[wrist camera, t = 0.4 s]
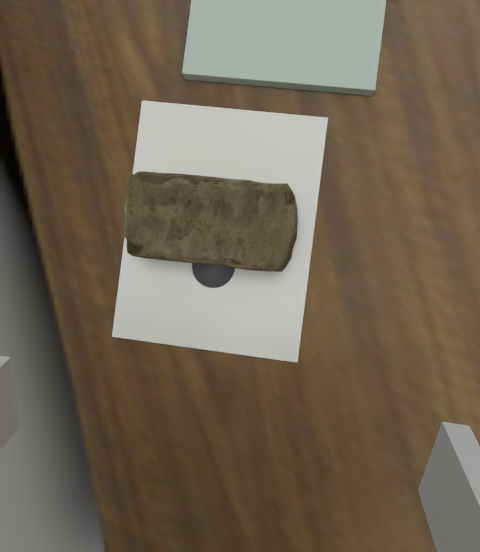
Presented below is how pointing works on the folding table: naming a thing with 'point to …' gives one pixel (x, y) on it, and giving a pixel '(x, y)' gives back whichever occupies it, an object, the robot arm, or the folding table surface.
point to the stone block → (210, 220)
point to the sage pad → (286, 44)
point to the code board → (214, 278)
